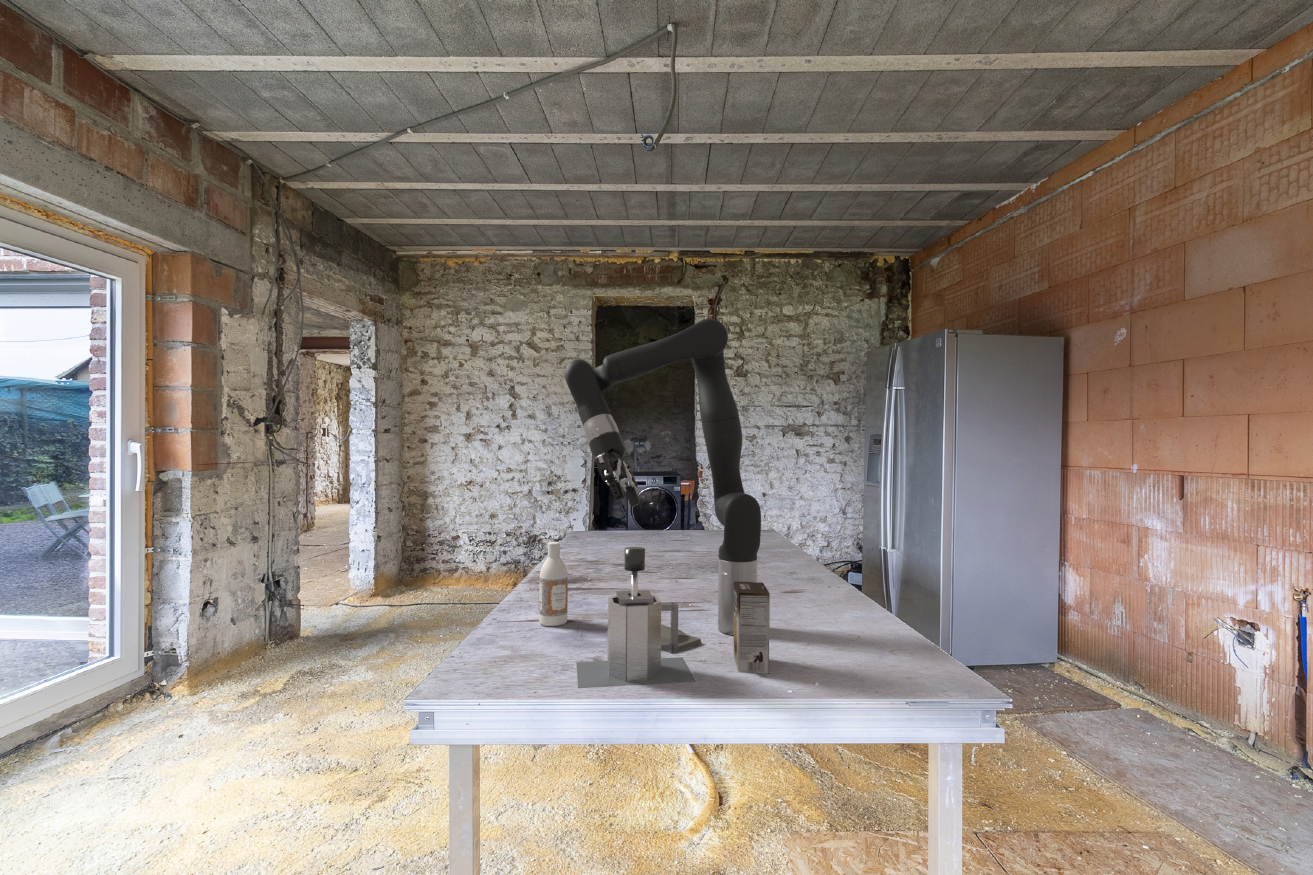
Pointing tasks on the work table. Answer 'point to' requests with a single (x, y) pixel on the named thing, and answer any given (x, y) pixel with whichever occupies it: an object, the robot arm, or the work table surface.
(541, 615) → the bath foam
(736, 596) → the coffee box
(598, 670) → the mat
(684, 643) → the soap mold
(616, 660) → the carafe
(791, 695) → the work table surface
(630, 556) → the plunger
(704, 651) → the work table surface
